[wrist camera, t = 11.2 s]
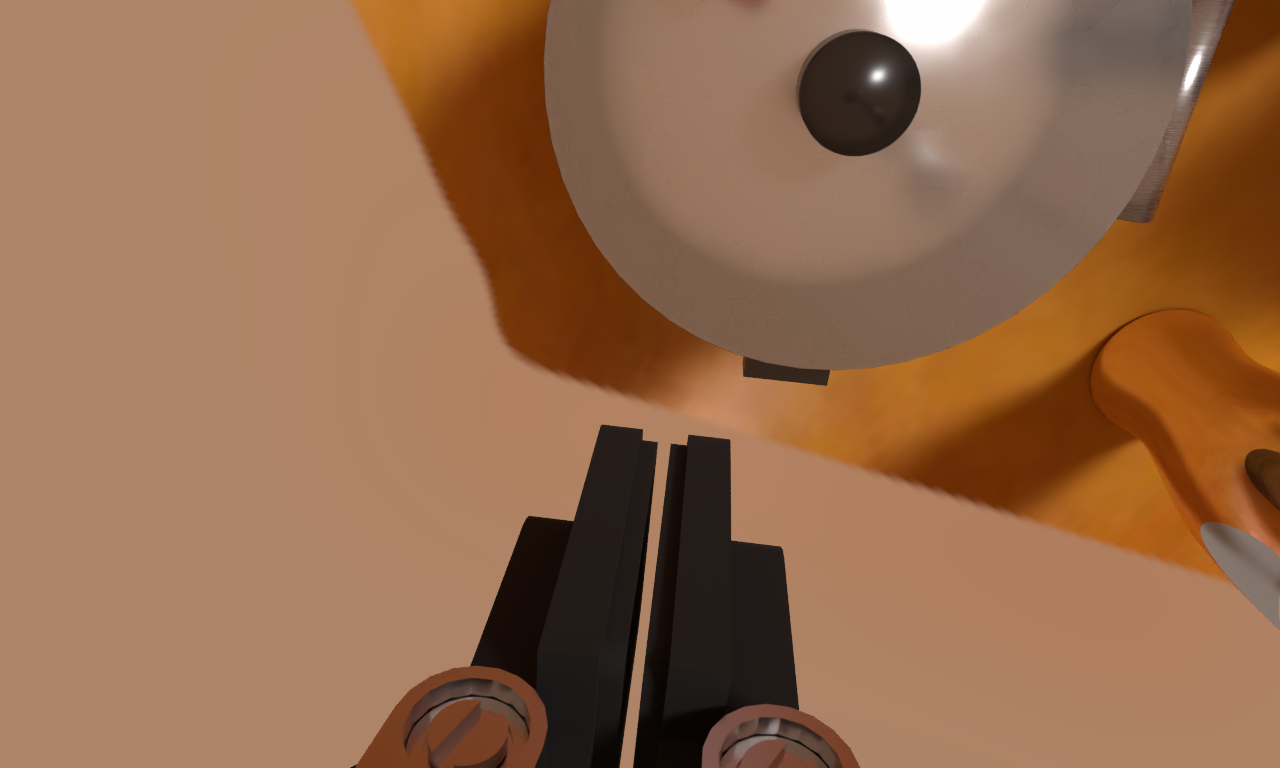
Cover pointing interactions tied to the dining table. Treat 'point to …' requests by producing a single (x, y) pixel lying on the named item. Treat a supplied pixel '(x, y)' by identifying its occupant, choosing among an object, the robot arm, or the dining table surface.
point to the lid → (864, 156)
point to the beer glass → (1204, 437)
